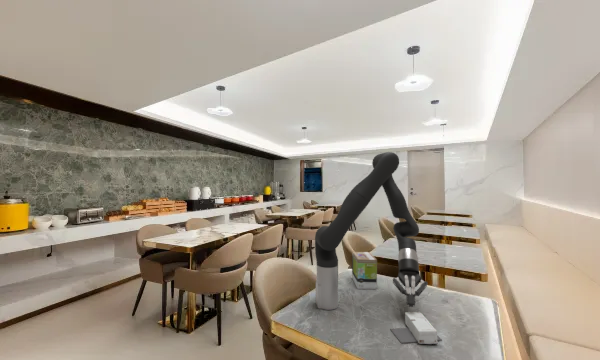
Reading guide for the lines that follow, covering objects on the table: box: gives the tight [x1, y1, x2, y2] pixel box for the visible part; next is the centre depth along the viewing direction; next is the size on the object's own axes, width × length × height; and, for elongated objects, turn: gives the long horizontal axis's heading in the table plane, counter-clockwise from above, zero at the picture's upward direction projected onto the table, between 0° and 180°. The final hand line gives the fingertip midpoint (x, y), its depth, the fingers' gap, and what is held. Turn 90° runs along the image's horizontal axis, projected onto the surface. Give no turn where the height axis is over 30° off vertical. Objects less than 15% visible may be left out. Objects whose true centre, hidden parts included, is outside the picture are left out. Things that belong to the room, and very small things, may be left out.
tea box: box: [351, 251, 378, 290], centre depth 133 cm, size 15×10×15 cm
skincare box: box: [404, 311, 438, 345], centre depth 88 cm, size 6×4×12 cm
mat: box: [390, 327, 443, 345], centre depth 88 cm, size 14×8×1 cm, turn 96°
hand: (411, 305), depth 93 cm, fingers closed
